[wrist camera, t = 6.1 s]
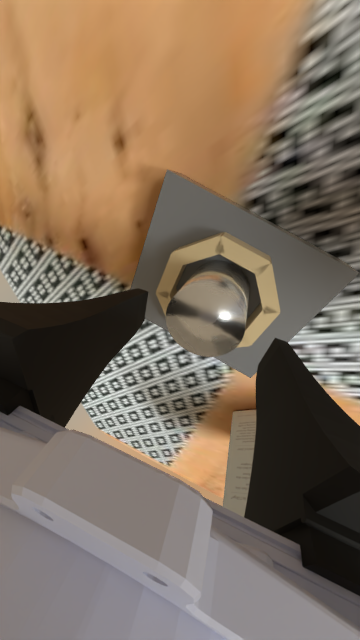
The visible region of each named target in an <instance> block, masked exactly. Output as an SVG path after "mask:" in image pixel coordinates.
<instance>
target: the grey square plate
mask: <svg viewBox="0 0 360 640" xmlns="http://www.w3.org/2000/svg"><path fill="white" fill-rule="evenodd" d="M211 261H226V262H230V263H232V264H234V265H236V266H237V267H239V268H240V269H241V270H242V271H243V272H244V274H245V275H246V277H247V279H248V282H249V287H250V293H249V301H248V310H247V319H246V327H245V334H244V336H243V339H242V341H241V342H240V344H239V345H238V346H237V347H236V348H235V349H234V350H232V351H231V352H229V353H227V354H224V355H221V356H215V358H216V359H218V360H220V361H222V362H223V363H225V364H227V365H229V366H230V367H232V368H234V369H236V370H237V371H239V372H241V373H243V374H245V375H246V376H248V377H250V378H251V377H252V376H253V375H254V374H255V373H256V372H257V369H258V364H259V362H260V361H261V359H262V358H263V356H264V355H265V353H266V351H267V350H268V348H269V347H270V345H271V343H272V342H273V340H274V339H275V338H277V339H280V340H283V341H286V342H289V341H290V340H291V339H292V338H293V337H294V336H295V335H296V334H297V333H298V332H299V331H300V330H301V329H302V328H303V327H304V326H305V325H306V324H307V323H308V322H309V321H310V320H311V319H312V318H313V317H315V316H316V315H317V314H318V313H319V312H320V311H321V310H322V309H323V308H324V307H325V306H326V305H327V304H328V303H329V302H330V301H331V300H332V299H333V298H334V297H335V296H336V295H337V294H338V293H340V292H341V291H342V290H343V289H344V288H345V287H346V286H347V285H348V284H349V283H350V282H351V281H352V280H353V279H354V278H355V277H356V276H357V275H358V274H359V272H358V271H356V270H355V269H354V268H352V267H351V266H350V265H348V264H347V263H346V262H344V261H342V260H340V259H338V258H337V257H335V256H333V255H331V254H329V253H327V252H325V251H324V250H322V249H320V248H318V247H316V246H314V245H312V244H311V243H309V242H307V241H305V240H303V239H301V238H299V237H298V236H296V235H294V234H292V233H290V232H288V231H286V230H285V229H283V228H281V227H279V226H277V225H275V224H273V223H272V222H270V221H268V220H266V219H264V218H262V217H260V216H259V215H257V214H255V213H253V212H251V211H249V210H247V209H246V208H244V207H242V206H240V205H238V204H236V203H234V202H233V201H231V200H229V199H227V198H225V197H223V196H221V195H220V194H218V193H216V192H214V191H212V190H210V189H208V188H207V187H205V186H203V185H201V184H199V183H197V182H195V181H194V180H192V179H190V178H188V177H186V176H184V175H182V174H181V173H178V172H174V171H171V170H168V169H167V172H166V175H165V178H164V182H163V185H162V188H161V191H160V195H159V198H158V201H157V204H156V208H155V211H154V214H153V217H152V221H151V224H150V227H149V230H148V234H147V237H146V240H145V243H144V247H143V250H142V253H141V256H140V260H139V263H138V266H137V269H136V273H135V276H134V279H133V282H132V286H131V289H130V290H132V289H137V288H140V289H142V290H145V291H148V298H147V305H146V312H145V318H146V319H148V320H149V321H151V322H153V323H155V324H156V325H158V326H160V327H162V328H163V329H165V330H167V331H169V330H168V328H167V324H166V310H167V307H168V304H169V302H170V301H171V299H172V298H173V297H174V296H175V295H176V293H177V292H178V291H179V290H180V289H181V288H182V286H183V285H184V284H185V283H186V282H187V281H188V280H189V278H190V277H191V276H192V275H193V274H194V273H195V271H196V270H197V269H198V268H199V267H201V266H202V265H204V264H206V263H208V262H211Z"/></svg>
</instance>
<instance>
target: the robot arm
mask: <svg viewBox="0 0 360 640" xmlns="http://www.w3.org/2000/svg"><path fill="white" fill-rule="evenodd" d="M147 298H148V291H145V290H142V289H140V288H137V289H132V290H128V291H124V292H120V293H116V294H112V295H108V296H103V297H98V298H93V299H88V300H82V301H74V302H62V303H34V304H33V303H7V302H0V640H360V426H359V425H358V424H357V423H356V422H355V421H354V420H352V419H351V418H350V417H349V416H348V415H347V414H346V413H345V412H344V411H343V410H342V409H341V408H340V407H339V406H338V405H337V403H336V402H335V401H334V400H333V399H332V398H331V397H330V396H329V395H328V394H327V393H326V392H325V390H324V389H323V388H322V387H321V386H320V384H319V383H318V382H317V381H316V380H315V378H314V377H313V376H312V374H311V373H310V372H309V371H308V369H307V368H306V367H305V365H304V364H303V362H302V361H301V360H300V358H299V357H298V356H297V354H296V353H295V351H294V350H293V349H292V347H291V346H290V345H289V344H288V342H286V341H283V340H280V339H277V338H275V339H274V340H273V342H272V343H271V345H270V347H269V348H268V350H267V351H266V353H265V355H264V356H263V358H262V359H261V361H260V362H259V364H258V369H257V376H256V435H255V445H254V454H253V462H252V470H251V477H250V484H249V491H248V497H247V503H246V509H245V515H244V517H242V516H240V515H238V514H236V513H234V512H232V511H230V510H228V509H226V508H224V507H222V506H220V505H218V504H216V503H214V502H212V501H210V500H208V499H206V498H204V497H203V496H202V495H201V494H200V493H199V492H198V491H197V490H195V489H194V488H192V487H190V486H189V485H187V484H186V483H184V482H183V481H181V480H179V479H177V478H175V477H173V476H171V475H169V474H167V473H165V472H163V471H161V470H159V469H157V468H155V467H153V466H151V465H149V464H147V463H145V462H143V461H141V460H139V459H137V458H134V457H133V456H131V455H129V454H126V453H125V452H123V451H121V450H119V449H117V448H114V447H113V446H111V445H108V444H107V443H104V442H102V441H100V440H98V439H96V438H94V437H92V436H90V435H87V434H84V433H82V432H79V431H76V430H68V429H66V428H65V426H66V424H67V423H68V421H69V420H70V418H71V417H72V415H73V413H74V411H75V410H76V408H77V407H78V406H79V404H80V403H81V401H82V400H83V398H84V397H85V395H86V394H87V392H88V391H89V389H90V388H91V386H92V385H93V384H94V382H95V381H96V379H97V378H98V377H99V375H100V374H101V372H102V371H103V370H104V368H105V367H106V366H107V364H108V363H109V362H110V361H111V360H112V359H113V357H114V356H115V355H116V354H117V353H118V352H119V351H120V350H121V349H122V348H123V347H124V346H125V345H126V343H127V342H128V341H129V340H130V339H131V338H132V337H133V336H134V335H135V334H136V332H137V331H138V329H139V328H140V326H141V325H142V323H143V322H144V319H145V312H146V305H147Z"/></svg>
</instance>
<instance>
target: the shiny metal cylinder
mask: <svg viewBox="0 0 360 640" xmlns="http://www.w3.org/2000/svg"><path fill="white" fill-rule="evenodd" d="M249 293H250V287H249V282H248V279H247V277H246V275H245V274H244V272H243V271H242V270H241V269H240V268H239V267H237V266H236V265H234V264H232V263H230V262H226V261H211V262H208V263H206V264H204V265H202V266H201V267H199V268H198V269H197V270H196V271H195V273H194V274H193V275H192V276H191V277H190V278H189V280H188V281H187V282H186V283H185V284H184V285H183V286H182V288H181V289H180V290H179V291H178V292H177V293H176V295H175V296H174V297H173V298H172V299H171V301H170V302H169V304H168V307H167V310H166V324H167V328H168V330H169V332H170V334H171V336H172V337H173V339H174V340H175V341H176V342H177V343H178V344H179V345H180V346H181V347H183V348H184V349H186V350H187V351H189V352H191V353H194V354H197V355H200V356H207V357H215V356H221V355H224V354H227V353H229V352H231V351H232V350H234V349H235V348H236V347H237V346H238V345H239V344H240V342H241V341H242V339H243V336H244V334H245V327H246V319H247V310H248V301H249Z"/></svg>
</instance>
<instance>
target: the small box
mask: <svg viewBox="0 0 360 640" xmlns="http://www.w3.org/2000/svg"><path fill="white" fill-rule="evenodd" d="M255 435H256V409H255V410H244V411H233V416H232V425H231V433H230V442H229V451H228V461H227V471H226V480H225V490H224V500H223V507H224V508H226V509H228V510H230V511H232V512H234V513H236V514H238V515H240V516H242V517H244V515H245V509H246V503H247V497H248V491H249V484H250V477H251V470H252V462H253V454H254V445H255Z"/></svg>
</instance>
